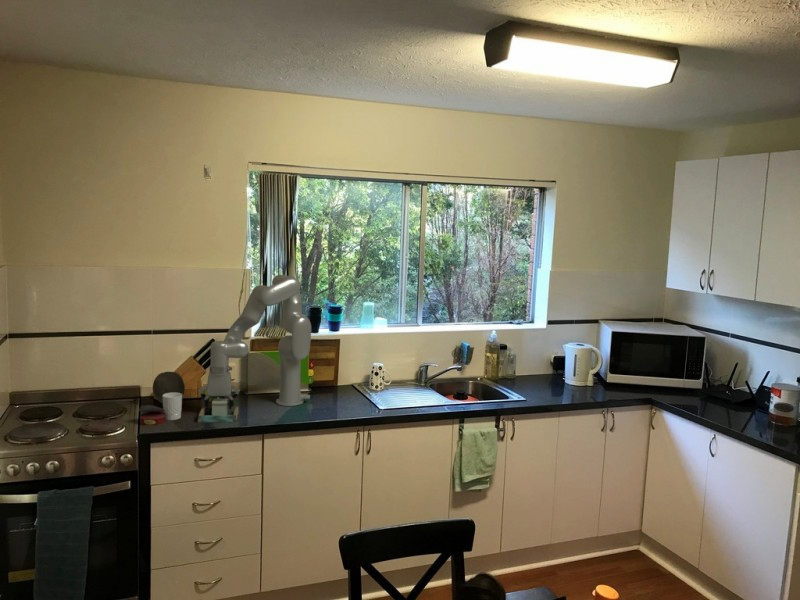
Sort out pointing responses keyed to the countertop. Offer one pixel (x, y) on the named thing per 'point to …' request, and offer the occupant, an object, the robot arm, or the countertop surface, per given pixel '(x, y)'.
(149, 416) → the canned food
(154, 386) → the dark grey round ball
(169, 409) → the white cup
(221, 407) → the crate
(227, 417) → the bay
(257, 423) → the countertop surface
